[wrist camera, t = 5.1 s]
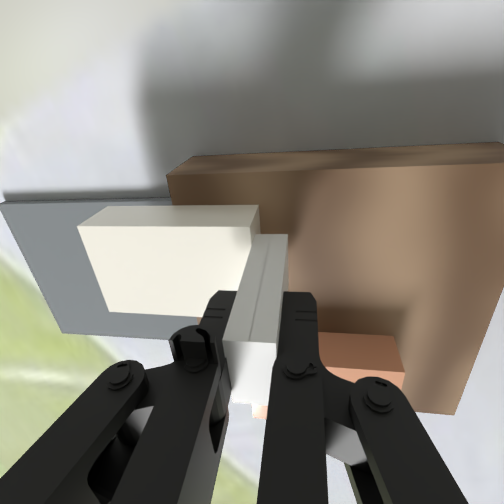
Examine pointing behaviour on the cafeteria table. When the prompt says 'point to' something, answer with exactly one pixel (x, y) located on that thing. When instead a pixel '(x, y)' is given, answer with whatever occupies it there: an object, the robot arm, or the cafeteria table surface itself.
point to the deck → (381, 244)
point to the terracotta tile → (356, 359)
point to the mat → (78, 268)
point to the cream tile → (168, 255)
